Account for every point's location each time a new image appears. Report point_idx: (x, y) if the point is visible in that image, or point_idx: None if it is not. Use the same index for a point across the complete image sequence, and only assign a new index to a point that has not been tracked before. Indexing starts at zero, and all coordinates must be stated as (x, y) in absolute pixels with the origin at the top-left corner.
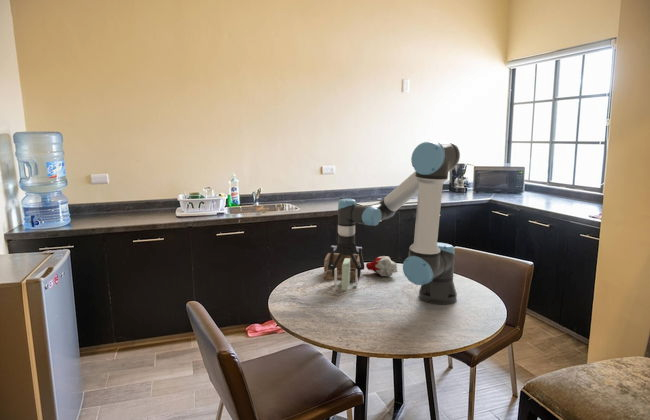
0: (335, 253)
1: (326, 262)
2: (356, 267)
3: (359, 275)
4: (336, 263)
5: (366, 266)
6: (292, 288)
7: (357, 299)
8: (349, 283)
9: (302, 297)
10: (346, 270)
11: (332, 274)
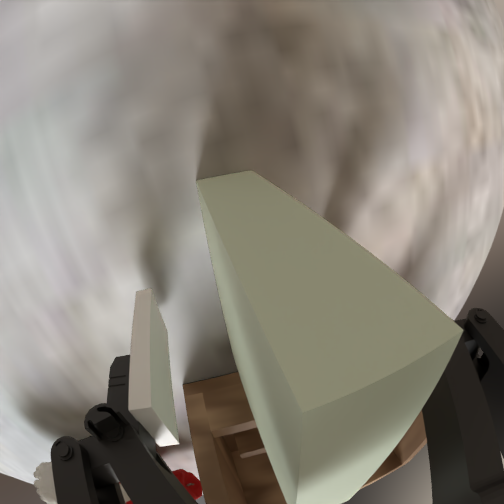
0: (376, 480)
1: None
2: (146, 457)
3: (115, 375)
4: (457, 386)
5: (198, 481)
6: (494, 133)
7: (57, 12)
8: (226, 326)
9: (443, 6)
10: (281, 291)
11: None
